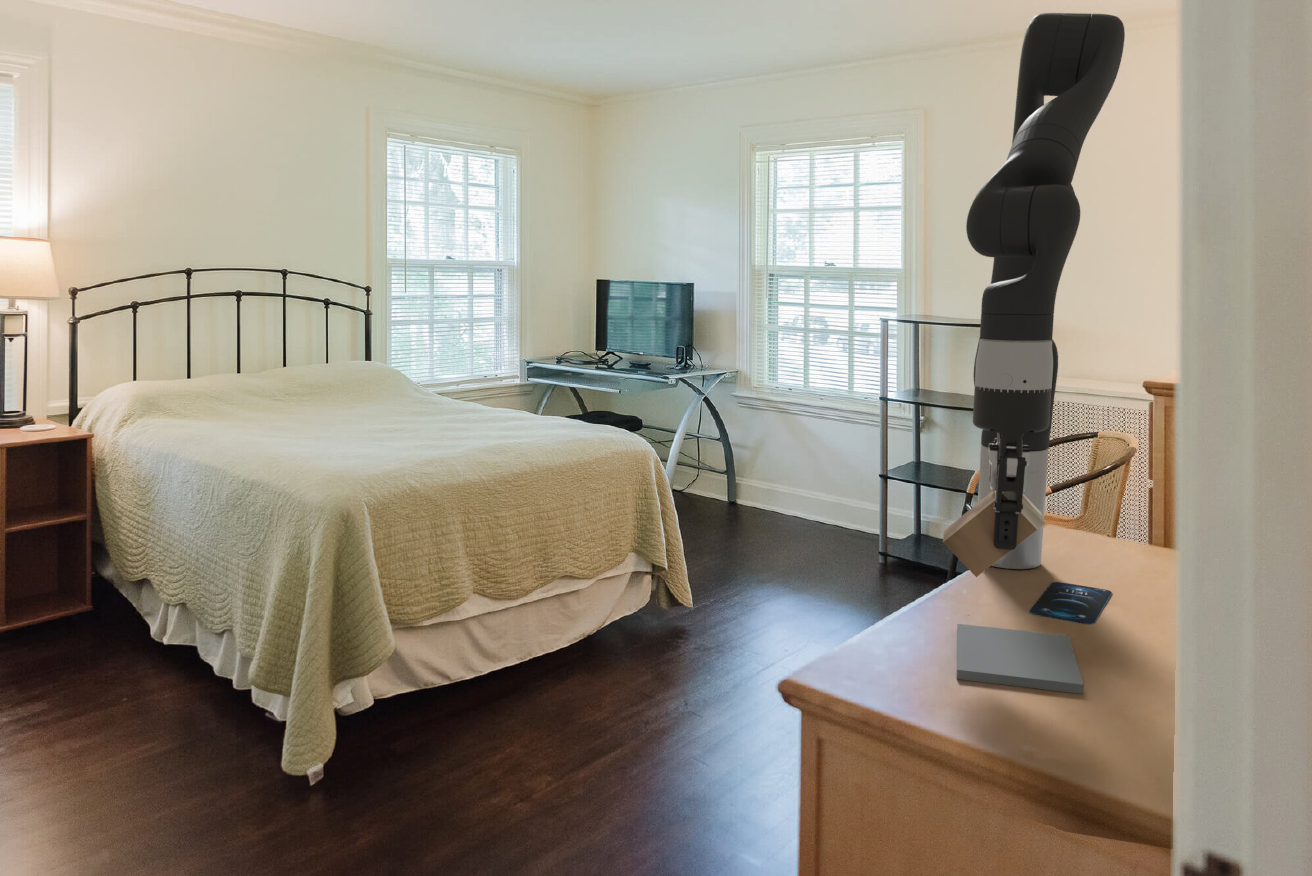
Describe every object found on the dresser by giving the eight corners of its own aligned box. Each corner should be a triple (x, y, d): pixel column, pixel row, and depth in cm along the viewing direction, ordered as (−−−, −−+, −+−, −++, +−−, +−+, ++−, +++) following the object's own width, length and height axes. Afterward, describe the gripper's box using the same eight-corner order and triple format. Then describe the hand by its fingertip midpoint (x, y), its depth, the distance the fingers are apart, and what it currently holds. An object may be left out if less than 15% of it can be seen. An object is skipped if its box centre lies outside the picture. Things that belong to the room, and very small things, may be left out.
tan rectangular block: (943, 530, 104) (1008, 478, 101) (975, 564, 104) (1041, 512, 101) (943, 542, 99) (1010, 487, 96) (976, 577, 99) (1045, 523, 96)
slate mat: (957, 631, 110) (957, 623, 110) (1067, 643, 106) (1068, 635, 106) (956, 678, 97) (957, 669, 97) (1082, 694, 93) (1083, 684, 93)
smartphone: (1026, 612, 116) (1052, 580, 128) (1026, 617, 116) (1052, 584, 128) (1093, 624, 112) (1113, 590, 124) (1093, 629, 112) (1113, 594, 124)
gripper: (1058, 391, 89) (1047, 563, 92) (1045, 378, 103) (1035, 528, 106) (976, 389, 92) (967, 556, 94) (973, 376, 105) (965, 523, 108)
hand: (1003, 540), depth 100 cm, fingers closed on tan rectangular block, 5 cm apart
